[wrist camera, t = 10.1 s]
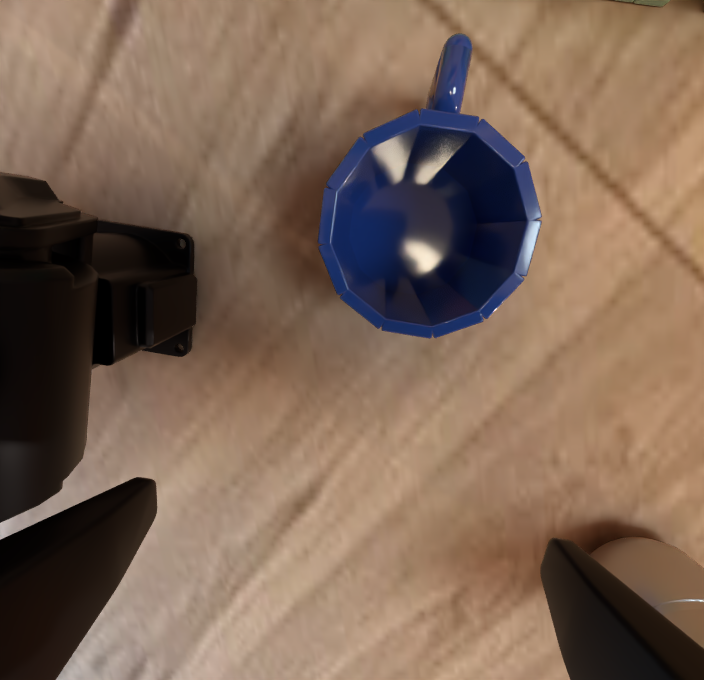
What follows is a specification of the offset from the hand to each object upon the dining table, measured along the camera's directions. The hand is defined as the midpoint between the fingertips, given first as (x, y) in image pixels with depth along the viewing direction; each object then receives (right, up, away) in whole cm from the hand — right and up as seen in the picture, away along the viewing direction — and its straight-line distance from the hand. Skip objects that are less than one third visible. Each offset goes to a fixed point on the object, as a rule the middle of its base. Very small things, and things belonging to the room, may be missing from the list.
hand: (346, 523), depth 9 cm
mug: (+3, +11, +10) cm, 15 cm away
